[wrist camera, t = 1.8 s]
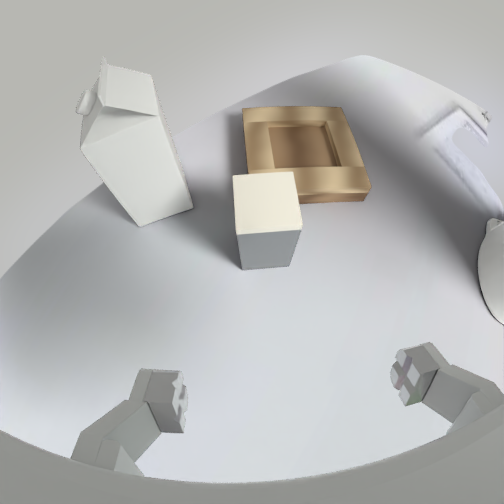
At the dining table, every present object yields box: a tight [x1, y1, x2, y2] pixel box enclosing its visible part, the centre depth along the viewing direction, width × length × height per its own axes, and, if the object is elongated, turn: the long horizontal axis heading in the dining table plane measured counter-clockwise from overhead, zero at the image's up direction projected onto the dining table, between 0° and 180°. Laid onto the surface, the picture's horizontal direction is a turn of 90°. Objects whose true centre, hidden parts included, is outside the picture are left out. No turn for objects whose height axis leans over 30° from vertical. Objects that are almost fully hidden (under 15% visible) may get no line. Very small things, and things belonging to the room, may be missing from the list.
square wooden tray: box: [242, 106, 371, 204], centre depth 34 cm, size 14×14×3 cm
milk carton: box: [76, 57, 194, 227], centre depth 25 cm, size 7×7×19 cm
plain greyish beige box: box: [233, 172, 303, 270], centre depth 27 cm, size 5×5×10 cm
